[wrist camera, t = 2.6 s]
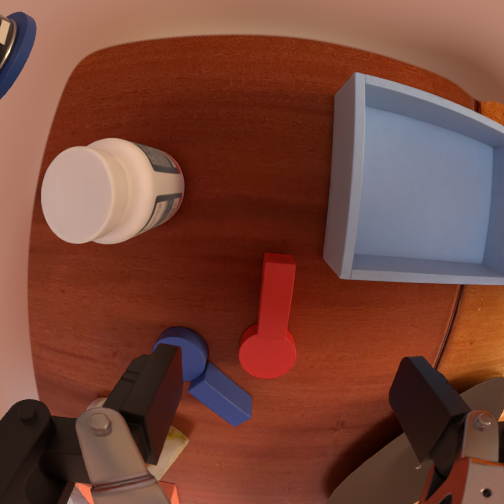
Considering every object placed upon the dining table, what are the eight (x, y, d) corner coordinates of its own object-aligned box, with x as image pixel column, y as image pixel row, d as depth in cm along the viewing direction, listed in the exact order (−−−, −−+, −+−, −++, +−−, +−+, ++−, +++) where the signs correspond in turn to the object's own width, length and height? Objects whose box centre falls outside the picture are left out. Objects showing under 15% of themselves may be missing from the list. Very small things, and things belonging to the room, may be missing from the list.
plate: (457, 478, 27) (464, 491, 24) (306, 518, 28) (308, 536, 24) (532, 348, 21) (548, 361, 18) (347, 394, 22) (358, 423, 18)
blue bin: (322, 258, 19) (339, 279, 15) (334, 94, 17) (354, 71, 12) (480, 269, 19) (513, 285, 15) (492, 142, 17) (527, 139, 12)
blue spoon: (148, 344, 21) (137, 362, 18) (180, 316, 20) (171, 333, 18) (227, 411, 22) (224, 432, 20) (262, 390, 22) (262, 411, 19)
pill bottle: (113, 156, 18) (28, 145, 9) (183, 144, 18) (124, 113, 9) (120, 230, 19) (39, 261, 10) (189, 223, 19) (135, 254, 10)
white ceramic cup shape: (94, 368, 22) (106, 451, 14) (180, 394, 27) (219, 464, 19) (74, 418, 22) (85, 495, 13) (154, 437, 27) (183, 504, 19)
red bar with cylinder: (289, 368, 21) (292, 388, 19) (237, 364, 21) (235, 385, 19) (307, 255, 19) (314, 266, 17) (247, 250, 19) (245, 260, 17)
